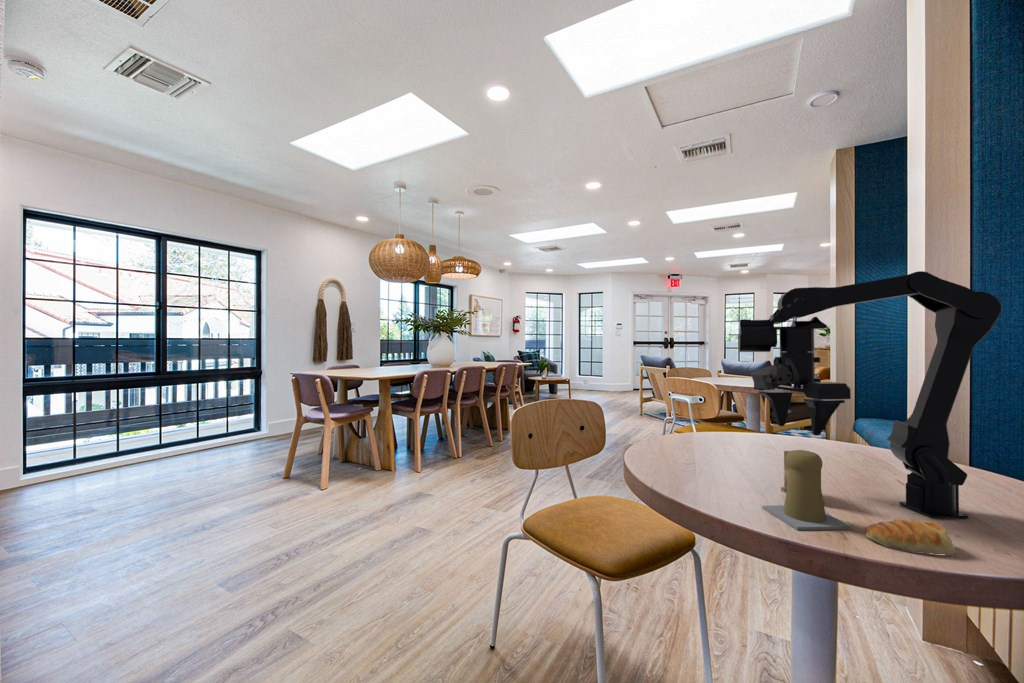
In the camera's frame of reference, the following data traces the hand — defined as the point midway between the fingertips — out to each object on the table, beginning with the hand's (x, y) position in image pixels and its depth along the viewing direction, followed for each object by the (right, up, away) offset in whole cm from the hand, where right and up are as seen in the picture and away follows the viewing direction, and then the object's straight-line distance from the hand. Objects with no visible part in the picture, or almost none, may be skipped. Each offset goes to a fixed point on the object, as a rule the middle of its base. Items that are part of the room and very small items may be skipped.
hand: (797, 430), depth 83 cm
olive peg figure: (-7, -13, -11) cm, 18 cm away
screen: (0, -13, -1) cm, 13 cm away
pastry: (+3, -13, -21) cm, 25 cm away
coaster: (-7, -13, -11) cm, 18 cm away
